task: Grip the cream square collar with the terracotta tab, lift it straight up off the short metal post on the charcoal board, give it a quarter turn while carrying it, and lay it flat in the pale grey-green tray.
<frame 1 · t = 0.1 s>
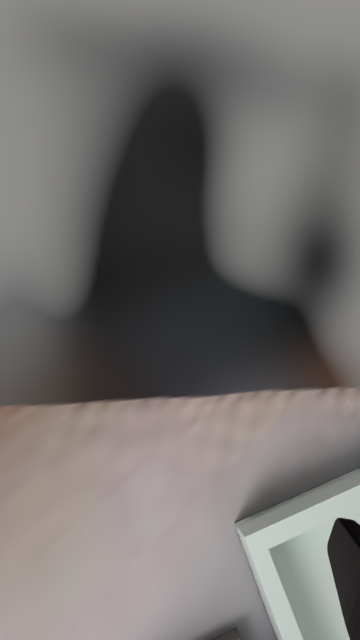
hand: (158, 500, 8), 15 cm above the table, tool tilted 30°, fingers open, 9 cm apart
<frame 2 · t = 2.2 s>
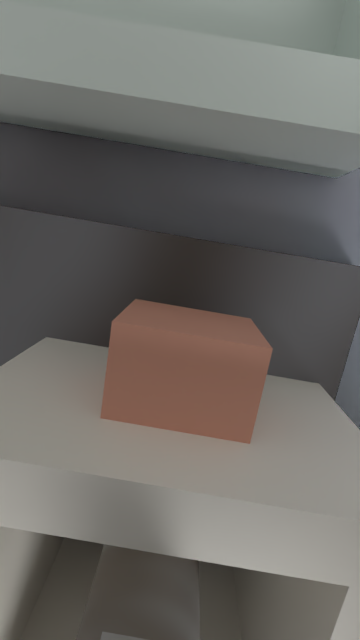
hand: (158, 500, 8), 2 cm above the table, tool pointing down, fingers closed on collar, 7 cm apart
collar: (161, 477, 9), point 1 cm above the table, touching gripper, stand
stand: (139, 405, 10), on the table
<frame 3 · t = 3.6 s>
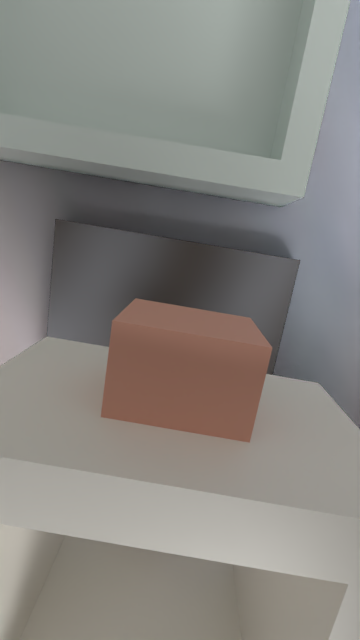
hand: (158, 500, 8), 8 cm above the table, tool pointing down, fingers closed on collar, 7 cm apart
collar: (161, 476, 9), point 7 cm above the table, touching gripper
stand: (161, 348, 16), on the table
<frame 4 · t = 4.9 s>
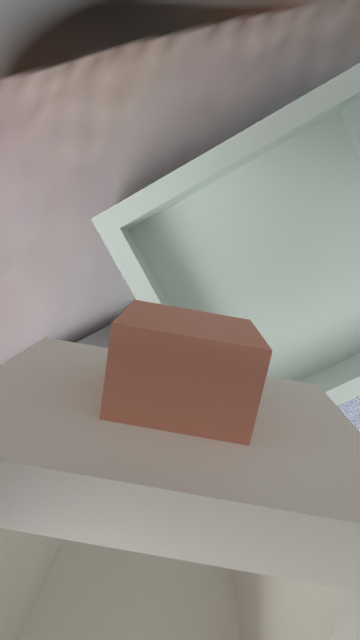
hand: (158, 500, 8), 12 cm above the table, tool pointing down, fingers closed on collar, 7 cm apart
tray: (274, 276, 19), on the table
collar: (160, 478, 9), point 11 cm above the table, touching gripper
stand: (92, 421, 21), on the table
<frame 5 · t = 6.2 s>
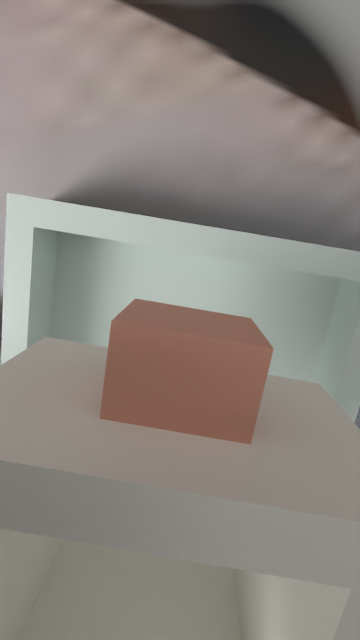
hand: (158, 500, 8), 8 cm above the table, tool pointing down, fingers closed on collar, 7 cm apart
tray: (178, 377, 16), on the table
collar: (161, 478, 9), point 7 cm above the table, touching gripper
when the fingers open (3 cm above the table, at t = 7.5 s): collar drops 1 cm, resting on tray.
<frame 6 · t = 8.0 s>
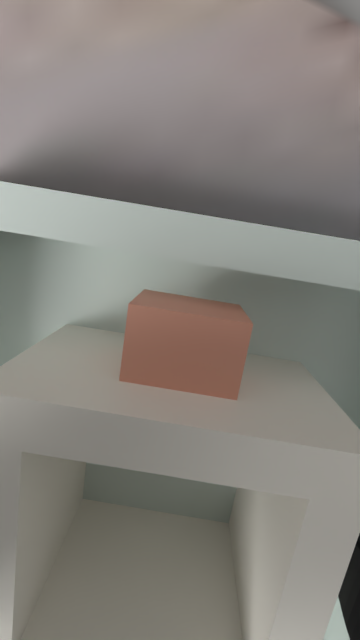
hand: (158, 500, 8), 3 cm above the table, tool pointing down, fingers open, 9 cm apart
tray: (169, 432, 11), on the table
collar: (166, 446, 11), point 1 cm above the table, touching tray
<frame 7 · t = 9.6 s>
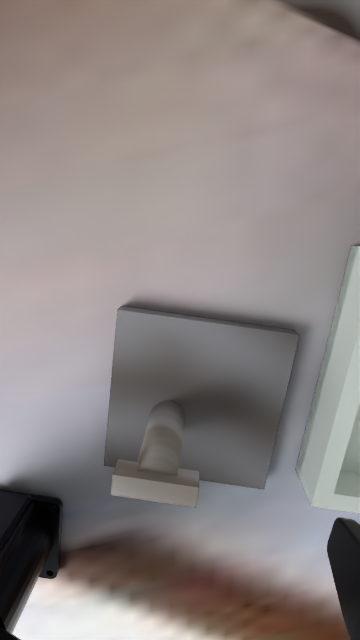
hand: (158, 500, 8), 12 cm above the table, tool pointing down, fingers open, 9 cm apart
stand: (195, 396, 20), on the table
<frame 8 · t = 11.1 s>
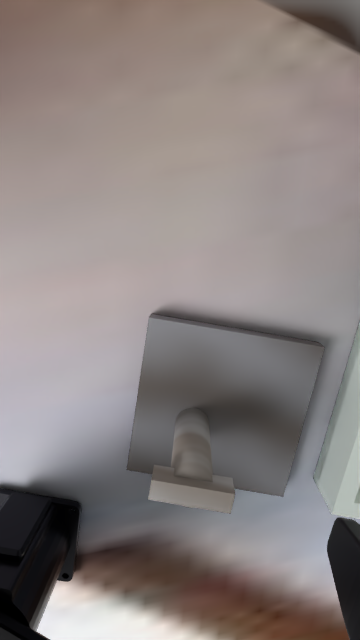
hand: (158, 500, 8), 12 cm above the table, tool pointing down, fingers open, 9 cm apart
stand: (218, 404, 21), on the table
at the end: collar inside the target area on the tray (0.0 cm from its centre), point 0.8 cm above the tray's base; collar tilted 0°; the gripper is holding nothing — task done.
